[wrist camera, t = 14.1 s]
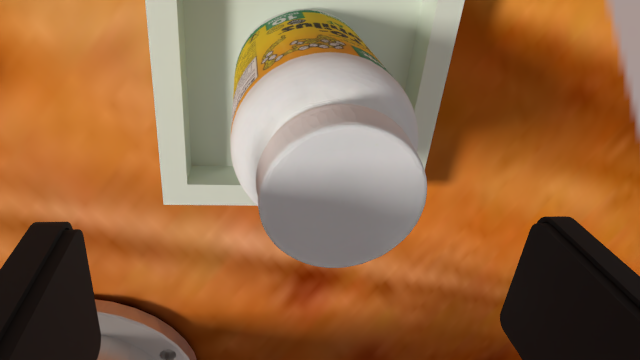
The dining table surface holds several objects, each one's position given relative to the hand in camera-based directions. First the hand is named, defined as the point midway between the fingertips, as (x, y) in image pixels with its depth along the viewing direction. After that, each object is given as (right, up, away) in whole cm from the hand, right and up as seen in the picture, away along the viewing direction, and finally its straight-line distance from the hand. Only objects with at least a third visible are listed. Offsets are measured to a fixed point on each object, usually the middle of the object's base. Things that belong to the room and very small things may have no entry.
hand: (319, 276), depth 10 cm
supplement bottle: (-1, +6, +9) cm, 11 cm away
